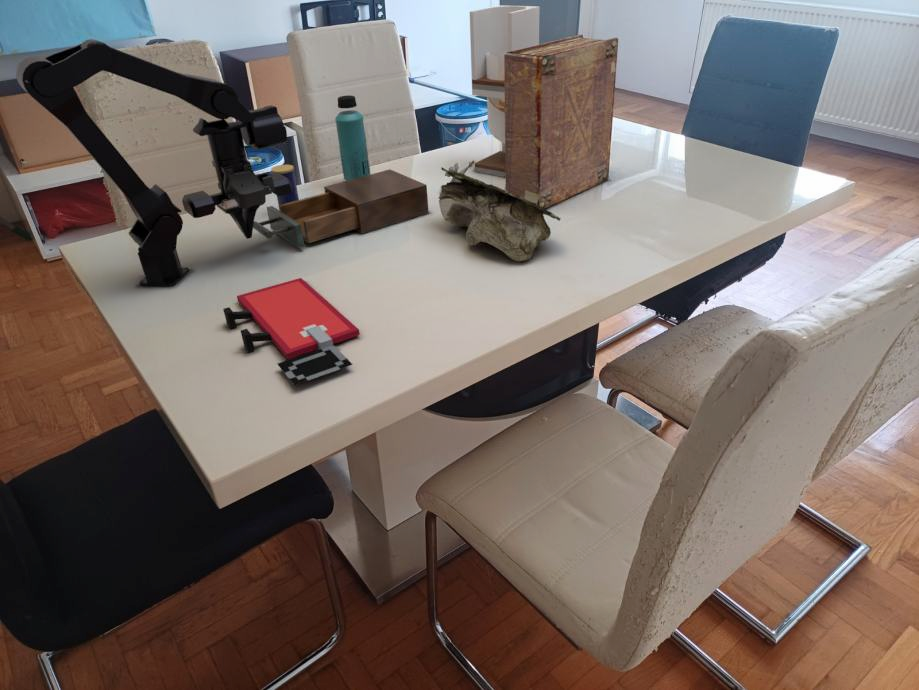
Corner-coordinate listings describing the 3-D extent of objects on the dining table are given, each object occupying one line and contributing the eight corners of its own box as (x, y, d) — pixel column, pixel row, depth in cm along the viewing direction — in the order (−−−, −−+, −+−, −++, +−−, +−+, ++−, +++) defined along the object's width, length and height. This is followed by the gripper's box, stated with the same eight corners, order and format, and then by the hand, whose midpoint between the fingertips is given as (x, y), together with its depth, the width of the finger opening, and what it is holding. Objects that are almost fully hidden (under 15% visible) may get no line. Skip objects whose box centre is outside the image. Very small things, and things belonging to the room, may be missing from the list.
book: (575, 172, 160) (582, 34, 144) (608, 180, 154) (619, 37, 138) (505, 203, 145) (503, 52, 129) (539, 212, 139) (541, 56, 123)
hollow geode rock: (449, 239, 141) (400, 201, 131) (483, 188, 141) (437, 146, 130) (534, 284, 120) (484, 242, 110) (574, 224, 120) (528, 177, 110)
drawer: (275, 255, 125) (270, 232, 122) (248, 235, 134) (243, 213, 131) (368, 226, 135) (366, 204, 132) (337, 209, 144) (334, 188, 141)
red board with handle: (282, 396, 88) (383, 359, 95) (278, 378, 87) (381, 342, 94) (215, 310, 110) (302, 285, 117) (211, 294, 108) (299, 270, 115)
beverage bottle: (367, 189, 156) (356, 99, 145) (339, 188, 157) (327, 99, 147) (375, 180, 161) (365, 93, 151) (349, 179, 163) (337, 93, 152)
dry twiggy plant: (449, 204, 146) (429, 179, 151) (462, 216, 151) (443, 192, 156) (483, 171, 144) (462, 147, 148) (495, 184, 149) (475, 161, 153)
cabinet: (361, 234, 134) (357, 204, 130) (328, 215, 143) (323, 186, 140) (428, 213, 142) (426, 184, 138) (392, 196, 151) (390, 169, 148)
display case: (500, 158, 171) (498, 5, 152) (536, 165, 166) (539, 6, 147) (474, 171, 163) (469, 11, 145) (511, 178, 158) (511, 13, 139)
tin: (297, 217, 143) (289, 171, 137) (276, 217, 143) (267, 171, 138) (304, 209, 147) (296, 164, 141) (284, 209, 147) (275, 164, 142)
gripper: (191, 179, 109) (215, 266, 117) (297, 153, 118) (312, 236, 126) (170, 163, 116) (194, 247, 125) (271, 141, 125) (287, 220, 134)
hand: (248, 237), depth 127 cm, fingers closed
